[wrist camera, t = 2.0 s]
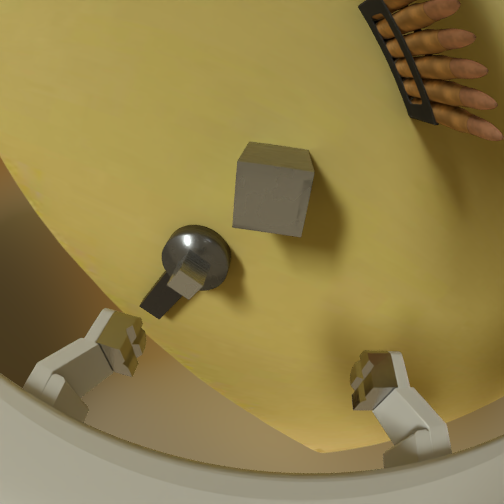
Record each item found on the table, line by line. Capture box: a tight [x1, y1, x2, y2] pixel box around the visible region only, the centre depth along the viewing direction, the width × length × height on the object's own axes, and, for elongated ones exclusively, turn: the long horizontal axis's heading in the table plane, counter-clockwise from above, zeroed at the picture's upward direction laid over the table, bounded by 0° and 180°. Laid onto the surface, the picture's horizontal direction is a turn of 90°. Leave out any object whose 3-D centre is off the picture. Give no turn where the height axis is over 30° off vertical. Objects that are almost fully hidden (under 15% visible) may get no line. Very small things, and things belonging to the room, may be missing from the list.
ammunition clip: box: [358, 0, 504, 141], centre depth 11 cm, size 11×2×12 cm, turn 27°
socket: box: [232, 142, 314, 237], centre depth 21 cm, size 5×5×6 cm
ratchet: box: [140, 225, 231, 319], centre depth 30 cm, size 16×7×5 cm, turn 139°
